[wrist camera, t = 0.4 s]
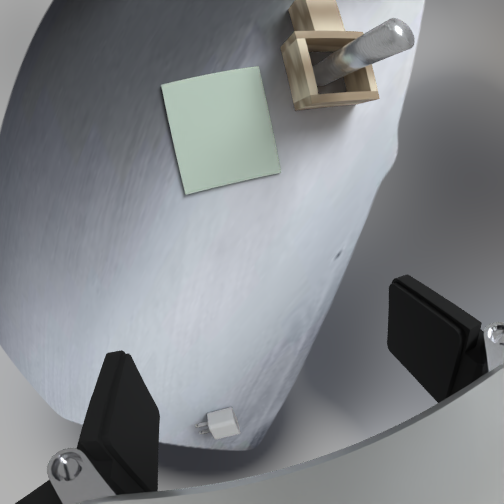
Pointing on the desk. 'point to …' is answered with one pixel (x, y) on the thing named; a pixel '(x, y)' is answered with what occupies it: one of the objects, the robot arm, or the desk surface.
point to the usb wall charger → (221, 423)
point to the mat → (221, 128)
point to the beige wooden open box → (321, 40)
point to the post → (365, 51)
